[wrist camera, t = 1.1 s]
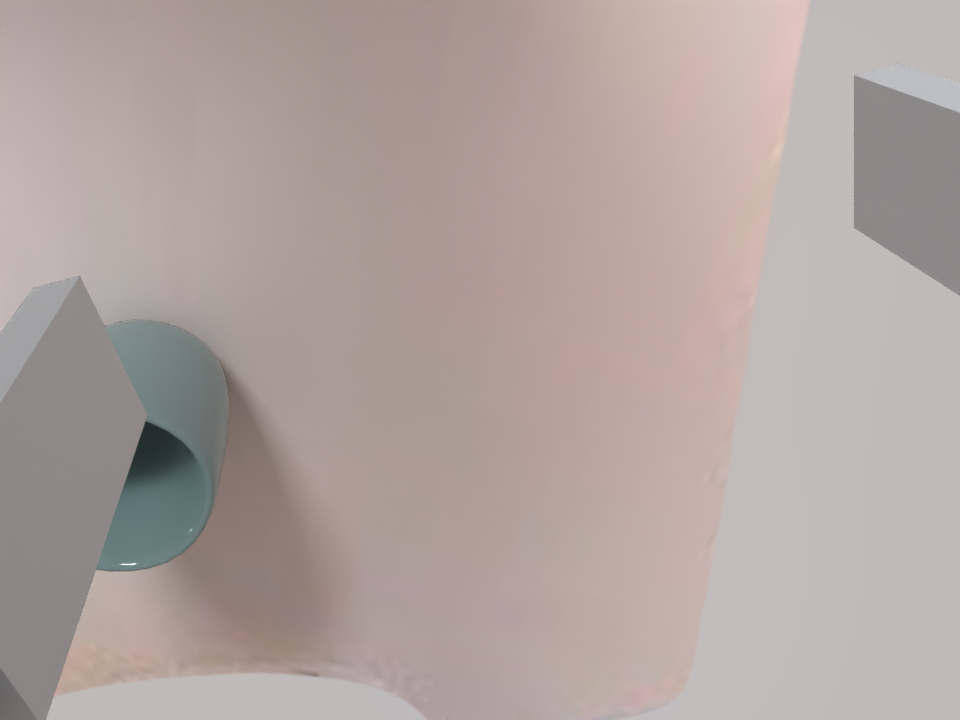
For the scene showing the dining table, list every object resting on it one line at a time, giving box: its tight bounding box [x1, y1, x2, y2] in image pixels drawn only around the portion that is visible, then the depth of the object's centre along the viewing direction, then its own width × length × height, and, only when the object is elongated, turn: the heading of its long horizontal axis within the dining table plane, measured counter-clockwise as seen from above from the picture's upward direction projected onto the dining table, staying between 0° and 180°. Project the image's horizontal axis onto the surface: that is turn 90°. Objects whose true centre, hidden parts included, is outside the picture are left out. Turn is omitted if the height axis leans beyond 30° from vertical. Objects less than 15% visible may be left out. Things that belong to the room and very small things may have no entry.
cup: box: [96, 319, 229, 571], centre depth 38 cm, size 8×8×10 cm
